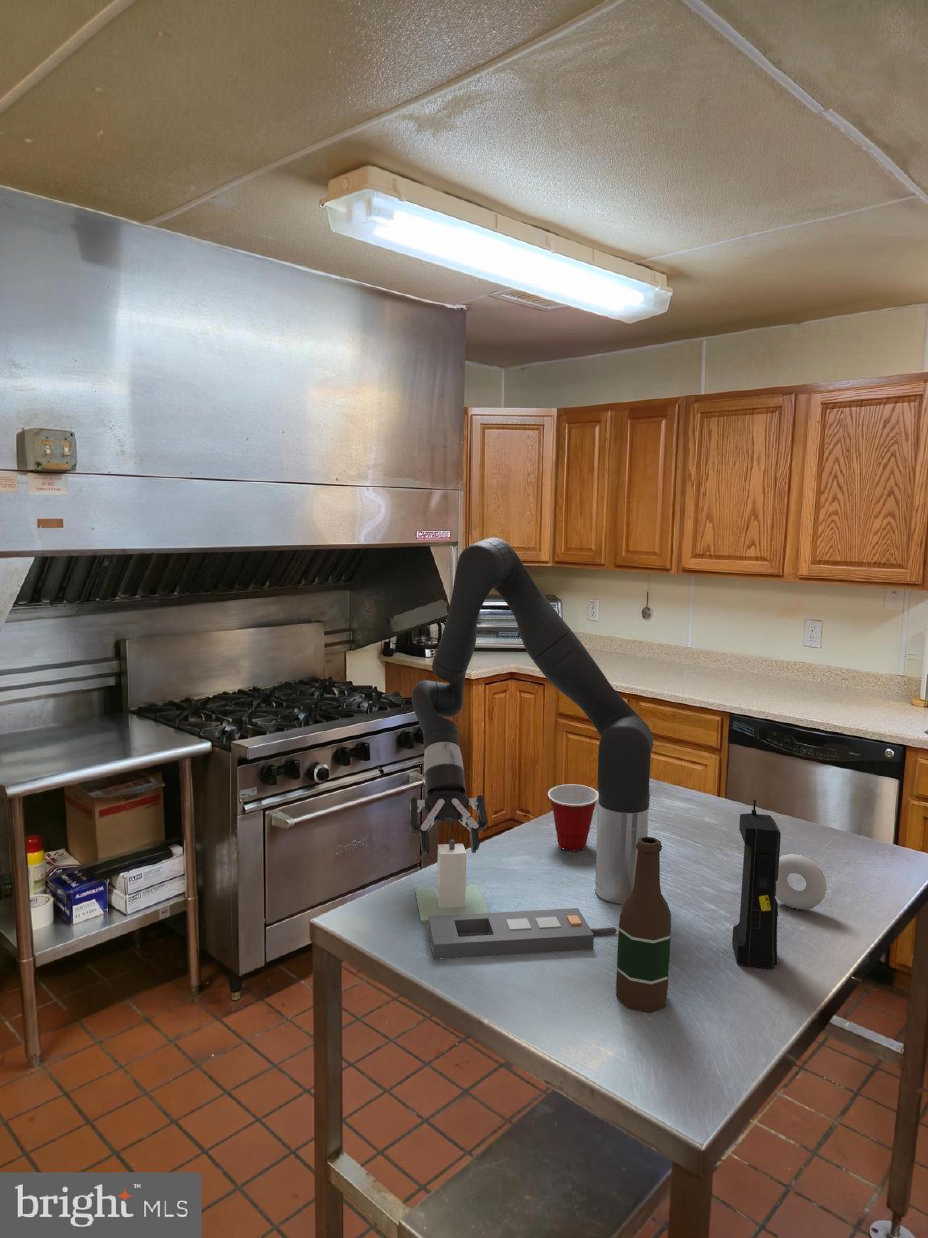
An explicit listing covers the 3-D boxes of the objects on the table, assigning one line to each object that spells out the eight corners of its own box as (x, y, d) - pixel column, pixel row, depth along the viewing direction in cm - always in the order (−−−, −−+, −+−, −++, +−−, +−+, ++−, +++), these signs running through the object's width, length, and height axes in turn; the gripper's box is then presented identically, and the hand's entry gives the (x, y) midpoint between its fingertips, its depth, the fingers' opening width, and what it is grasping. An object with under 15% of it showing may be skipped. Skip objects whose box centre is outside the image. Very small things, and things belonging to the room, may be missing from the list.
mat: (478, 887, 149) (478, 885, 149) (489, 919, 137) (489, 916, 137) (415, 891, 147) (415, 888, 147) (421, 923, 135) (421, 920, 135)
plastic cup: (537, 849, 167) (539, 794, 166) (558, 832, 176) (560, 780, 175) (584, 861, 161) (587, 804, 160) (604, 843, 170) (606, 790, 169)
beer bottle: (608, 983, 118) (614, 830, 116) (658, 981, 119) (666, 829, 116) (622, 1015, 111) (630, 851, 108) (676, 1013, 111) (685, 851, 109)
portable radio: (779, 974, 122) (790, 818, 119) (738, 969, 123) (748, 815, 120) (770, 948, 129) (780, 801, 126) (731, 943, 130) (740, 797, 127)
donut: (826, 912, 142) (830, 859, 140) (822, 920, 139) (826, 866, 138) (769, 896, 147) (772, 845, 146) (763, 903, 145) (767, 851, 143)
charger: (461, 896, 144) (463, 835, 143) (465, 907, 140) (466, 845, 139) (437, 897, 144) (437, 836, 142) (439, 908, 139) (440, 846, 138)
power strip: (607, 920, 137) (608, 904, 137) (625, 947, 129) (626, 930, 128) (428, 930, 133) (428, 914, 132) (434, 959, 124) (434, 942, 124)
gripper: (408, 763, 148) (413, 846, 138) (482, 760, 150) (492, 842, 140) (406, 781, 154) (410, 862, 144) (477, 779, 156) (487, 858, 146)
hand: (451, 852), depth 142 cm, fingers open, 8 cm apart
